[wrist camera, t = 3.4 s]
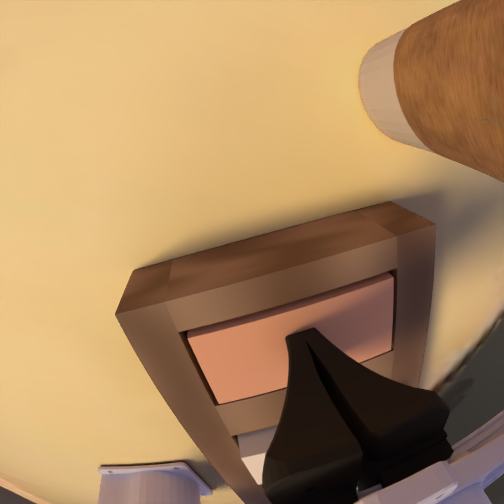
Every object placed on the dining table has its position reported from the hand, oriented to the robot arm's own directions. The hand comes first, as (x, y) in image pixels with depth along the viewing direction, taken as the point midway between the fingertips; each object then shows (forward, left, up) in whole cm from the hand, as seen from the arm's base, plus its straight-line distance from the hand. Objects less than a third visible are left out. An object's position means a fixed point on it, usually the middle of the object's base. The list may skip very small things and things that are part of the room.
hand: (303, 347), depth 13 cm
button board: (0, -8, -4) cm, 9 cm away
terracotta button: (0, 0, -4) cm, 4 cm away
